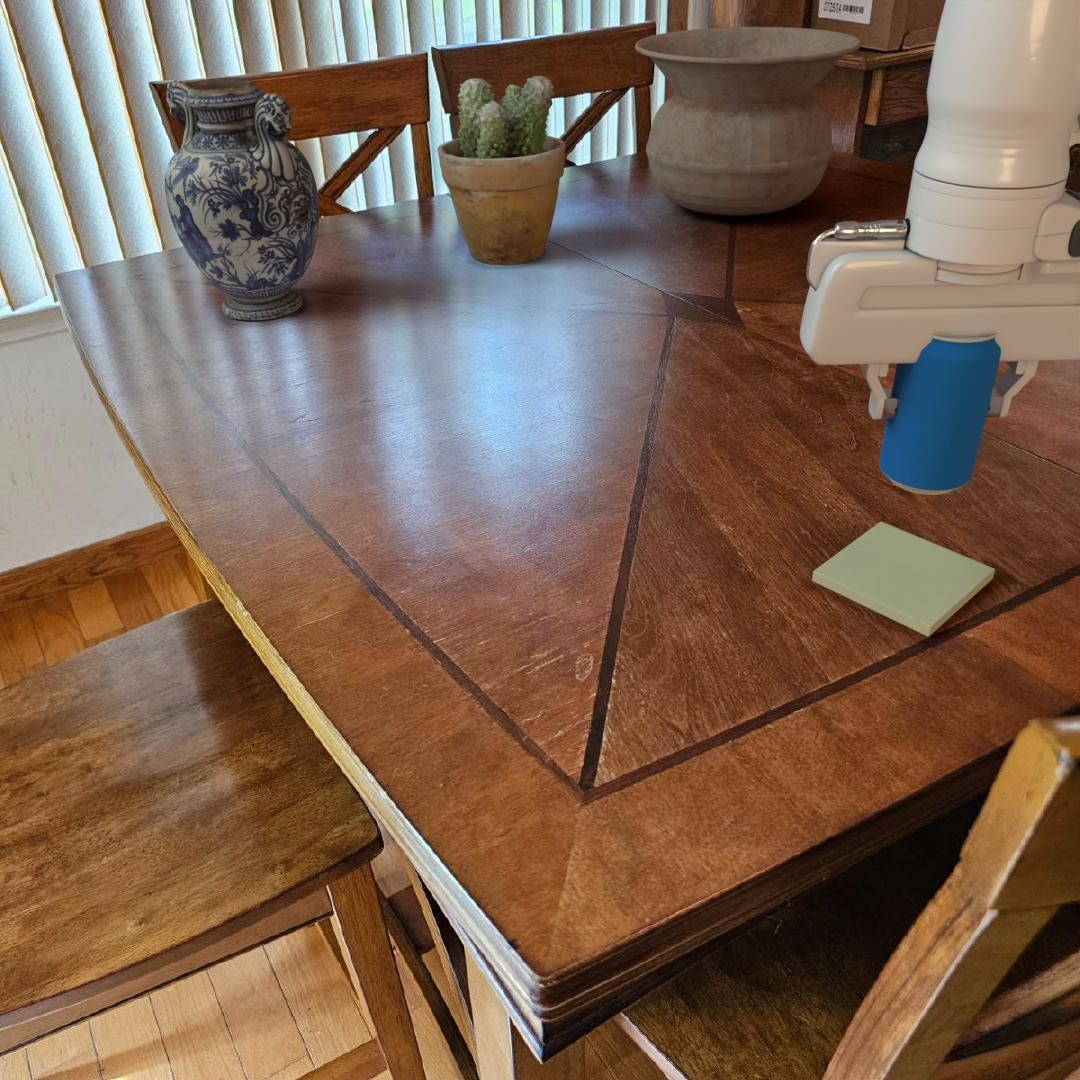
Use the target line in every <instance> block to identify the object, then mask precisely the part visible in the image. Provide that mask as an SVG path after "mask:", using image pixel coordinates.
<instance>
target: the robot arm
mask: <svg viewBox="0 0 1080 1080" xmlns="http://www.w3.org/2000/svg"><path fill="white" fill-rule="evenodd" d="M931 58H932V59H931V64H930V69H929V75H928V81H927V86H926V87H927V88H926V101H927V110H928V117H927V126H926V132H925V135H924V138H923V140H922V144H921V145H920V148H919V150H918V152H917V154H916V156H915V159H914V162H913V163H914V164H913V168H912V175H911V181H910V186H909V192H908V197H907V203H906V209H905V214H904V219H885V220H884V219H882V220H874V221H866V222H865V221H863V222H859V221H856V220H847V221H846V220H845V221H841V222H837V223H835V224H834V227H833V228H830V229H829V228H828V229H827V230H824V231H823V232H821V233H820V234H819V235H817V237H816V238H815V239H814V240H813V241H812V242H811V245H810V247H809V250H808V256H807V262H806V272H805V273H806V279H807V282H808V285H809V289H808V292H807V295H806V299H805V303H804V307H803V311H802V317H801V322H800V329H799V339H800V343H801V346H802V347H803V350H804V351H805V353H806V354H807V356H808V357H809V358H810V359H811V360H812V361H813V362H814V363H815V364H816V365H819V366H837V365H838V366H839V365H841V366H844V365H858V366H859V369H860V371H861V372H862V374H863V376H864V379H865V381H866V383H867V385H868V387H869V389H870V395H869V402H868V413H869V415H870V417H871V419H872V420H887V419H894V418H895V417H896V412H895V409H896V408H897V406H898V401H899V398H898V397H897V396H896V395H895V394H894V392H893V388H892V387H883V385H882V384H881V381H880V378H885V377H887V376H888V372H889V368H890V365H891V364H892V365H893V364H895V365H897V364H901V363H915V362H916V361H917V360H918V357H919V355H920V352H921V351H922V349H923V348H924V347H926V346H927V345H928V344H929V343H930V342H931V341H932V338H931V334H933V335H937V336H941V337H946V338H952V337H989V336H992V335H994V334H996V333H997V336H996V337H995V341H996V343H997V344H998V345H999V346H1000V348H1001V355H1000V363H1001V362H1005V363H1006V364H1007V365H1008V367H1007V368H1006V370H1005V371H1004V372H1003V373H1002V375H1001V376H1000V377H999V378H998V380H997V381H995V383H994V387H993V391H992V395H991V399H990V403H989V407H988V412H987V416H986V418H1007V416H1008V415H1009V411H1010V407H1011V403H1012V399H1013V397H1015V396H1016V395H1017V394H1018V393H1020V391H1021V390H1022V389H1023V388H1024V387H1025V386H1026V385H1027V384H1028V383H1029V382H1030V381H1031V380H1032V379H1033V378H1034V377H1035V376H1036V373H1037V370H1038V367H1039V363H1040V362H1047V361H1050V362H1051V361H1052V362H1053V361H1055V362H1056V361H1080V192H1077V191H1074V190H1071V189H1067V188H1066V184H1067V181H1068V178H1069V173H1070V166H1071V165H1070V163H1071V158H1070V148H1071V147H1073V146H1074V145H1076V144H1077V145H1080V0H945V1H944V6H943V9H942V12H941V16H940V21H939V25H938V29H937V34H936V38H935V43H934V48H933V53H932V57H931ZM830 236H833V237H832V238H831V237H830ZM829 237H830V238H829Z"/></svg>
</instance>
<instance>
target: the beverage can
mask: <svg viewBox="0 0 1080 1080" xmlns="http://www.w3.org/2000/svg"><path fill="white" fill-rule="evenodd" d="M996 336H997V333H996V334H994V335H992V336H989V337H952V338H946V337H941V336H937V335H933V334H931V338H932V341H931V342H930V343H929V344H928V345H927V346H926V347H924V348H923V349H922V351H921V352H920V355H919V357H918V360H917V361H916V362H915V363H901V364H896V366H895V372H894V377H893V382H892V387H891V388H893V392H894V394H895V395H896V396H897V397H898V398H899V401H898V406H897V408H896V409H895V412H896V417H895V418H894V419H885V420H886V422H885V426H884V432H883V437H882V443H881V448H880V454H879V459H878V468H879V470H880V471H881V472H882V474H883V475H884V476H885V477H886V478H887V479H889V480H890V481H891V483H892V484H894V486H896V487H898V488H899V489H902V490H904V491H906V492H910V493H913V494H919V495H925V496H927V495H928V496H937V495H945V494H948V493H950V492H952V491H954V490H958V489H960V488H962V487H964V486H966V485H967V484H968V483H969V482H970V481H971V480H972V476H973V472H974V469H975V464H976V460H977V456H978V453H979V452H978V451H979V448H980V445H981V444H980V443H981V439H982V436H983V431H984V427H985V424H986V420H987V417H986V416H987V412H988V407H989V403H990V399H991V395H992V391H993V387H994V384H995V383H996V378H997V374H998V372H999V371H998V370H999V367H1000V363H1001V362H1000V355H1001V348H1000V346H999V345H998V344H997V343H996V341H995V337H996Z"/></svg>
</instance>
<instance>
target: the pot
mask: <svg viewBox="0 0 1080 1080" xmlns="http://www.w3.org/2000/svg"><path fill="white" fill-rule="evenodd" d="M861 46H862V41H861V40H860V39H859V38H858V37H856V36H854V35H851V34H847V33H843V32H839V31H832V30H826V29H816V28H804V27H786V26H785V27H784V26H783V27H782V26H731V27H730V26H729V27H710V28H696V29H687V30H686V29H685V30H677V31H676V30H675V31H670V32H663V33H659V34H653V35H650V36H647V37H644V38H641V39H639V40H637V41H636V43H635V46H634V49H635V50H636V51H637V52H638V53H639V54H641V55H643V56H645V57H649V59H650V60H651V61H652V62H653V63H654V65H655V66H656V68H657V69H658V70H659V71H660V72H661V74H662V75H663V76H664V77H665V78H666V80H667V81H668V82H669V84H670V85H671V88H672V90H673V92H674V93H673V95H672V96H671V97H669V98H668V99H667V100H665V101H664V102H663V104H661V105H660V106H659V108H658V109H657V111H656V113H655V115H654V118H653V121H652V123H651V127H650V131H649V134H648V135H649V136H648V140H647V142H646V146H645V153H646V156H647V160H648V165H649V170H650V174H651V176H652V179H653V181H654V183H655V185H656V186H657V188H658V191H659V192H660V193H661V194H663V196H664V197H665V198H666V199H667V200H669V201H670V202H671V203H674V204H676V205H678V206H680V207H682V208H685V209H687V210H690V211H693V212H699V213H703V214H710V215H716V216H717V215H719V216H756V215H765V214H770V213H775V212H779V211H783V210H785V209H788V208H791V207H793V206H795V205H798V204H799V203H801V202H802V201H804V200H805V199H806V198H807V197H808V196H810V195H811V194H813V192H814V191H815V190H816V188H817V187H818V186H819V184H820V183H821V181H822V179H823V176H824V174H825V171H826V170H827V167H828V164H829V161H830V159H831V157H832V156H833V152H834V145H833V133H832V125H831V121H830V116H829V114H828V112H827V109H826V108H825V106H824V104H823V103H822V102H821V101H820V100H819V99H818V98H816V96H814V95H813V90H814V89H815V87H816V85H817V84H818V83H819V82H821V80H822V79H823V78H824V77H825V76H826V75H827V74H828V73H829V71H831V70H832V69H833V68H834V66H836V65H837V63H838V62H839V61H840V60H841V59H842V58H843V57H845V55H849V54H852V53H853V52H856V51H858V50H859V49H860V47H861Z"/></svg>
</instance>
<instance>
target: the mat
mask: <svg viewBox="0 0 1080 1080" xmlns="http://www.w3.org/2000/svg"><path fill="white" fill-rule="evenodd" d="M995 573H996V568H994V567H991V566H990V565H986V564H985V563H982V562H980V561H977V560H975V559H972V558H970V557H967V556H966V555H963V554H961V553H958V552H956V551H953V550H951V549H948V548H946V547H943V546H941V545H939V544H936V543H934V542H931V541H930V540H926V539H925V538H923V537H919V536H918V535H915V534H913V533H910V532H908V531H905V530H903V529H900V528H899V527H896V526H894V525H891V524H888V523H886V522H883V521H879V522H878V523H876V524H875V525H873V526H872V527H870V528H869V530H867V531H865V532H864V533H863V534H861V535H860V536H859V537H858V538H856V539H855V540H853V541H852V542H850V543H849V544H848V545H846V546H845V547H844V548H843V549H841V550H840V551H839V552H837V553H836V554H834V555H833V556H832V557H830V558H828V560H826V561H825V562H824V563H822V564H821V565H820V566H818V567H816V568H815V569H813V571H812V577H811V578H812V579H811V581H812V582H813V583H816V584H818V585H820V586H822V587H824V588H826V589H827V590H830V591H832V592H834V593H836V594H838V595H840V596H843V597H844V598H847V599H848V600H851V601H853V602H855V603H857V604H859V605H861V606H863V607H865V608H867V609H869V610H871V611H873V612H875V613H877V614H880V615H882V616H884V617H886V618H888V619H890V620H892V621H893V622H894V621H895V622H897V623H898V624H901V625H902V626H905V627H907V628H909V629H911V630H912V631H915V632H917V633H919V634H922V635H924V636H925V637H927V638H929V637H930V636H931V635H932V634H934V633H935V632H936V631H937V630H938V629H939V628H940V627H941V626H943V625H944V624H945V623H946V622H947V621H948V620H949V619H950V618H951V617H953V615H954V614H956V613H957V612H958V611H959V610H960V609H961V608H962V607H964V605H966V604H967V603H968V602H969V601H970V600H971V599H972V598H973V597H974V596H976V595H977V594H978V593H979V592H980V591H981V590H982V589H984V588H985V587H986V586H987V585H988V584H989V583H990V582H991V581H992V580H993V579H994V575H995Z"/></svg>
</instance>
